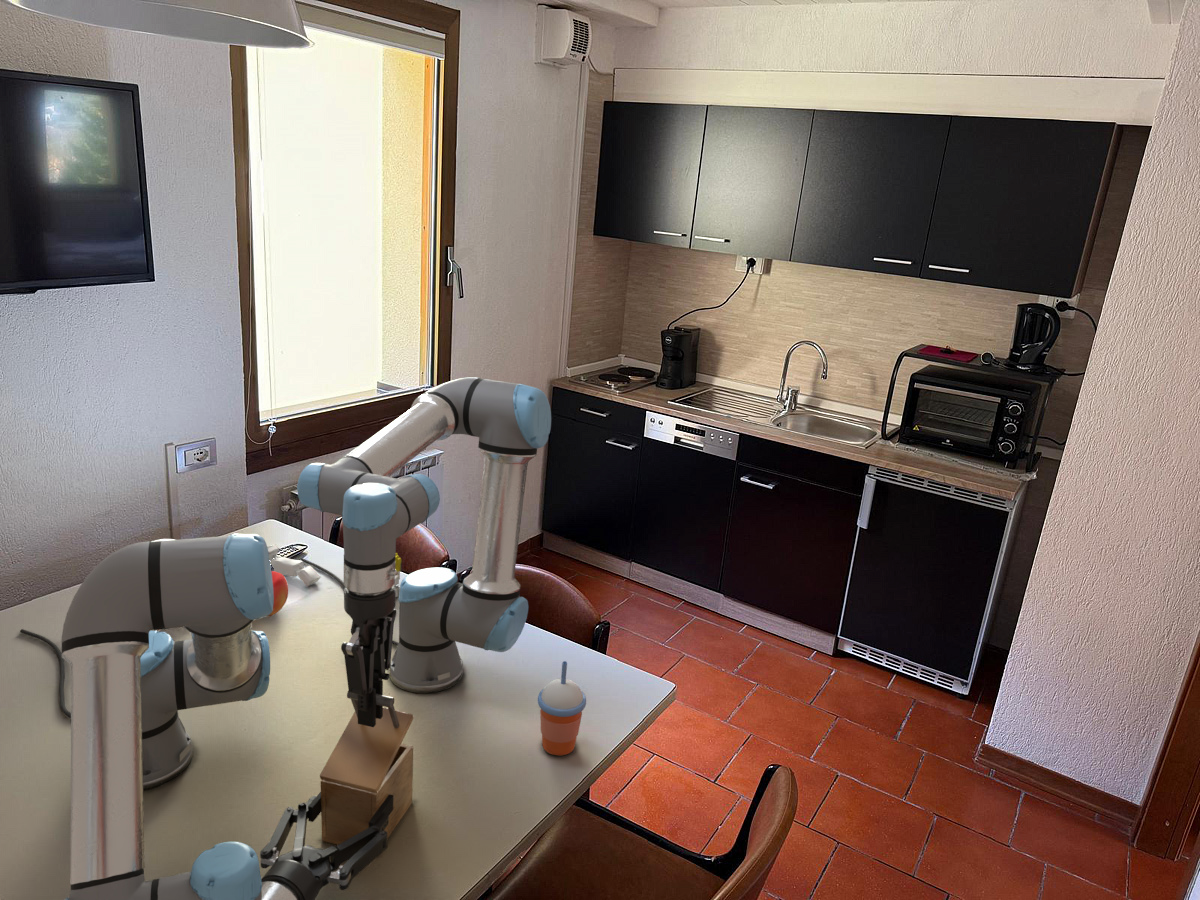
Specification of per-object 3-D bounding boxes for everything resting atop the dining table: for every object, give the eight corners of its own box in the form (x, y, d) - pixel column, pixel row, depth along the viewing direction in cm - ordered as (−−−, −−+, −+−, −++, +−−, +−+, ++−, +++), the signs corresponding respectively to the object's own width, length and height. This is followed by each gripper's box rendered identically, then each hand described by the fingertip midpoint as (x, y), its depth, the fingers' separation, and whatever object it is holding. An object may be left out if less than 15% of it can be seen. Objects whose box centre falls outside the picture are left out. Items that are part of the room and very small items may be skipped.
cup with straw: (576, 765, 157) (583, 680, 152) (528, 755, 159) (534, 670, 154) (587, 736, 166) (594, 654, 161) (541, 727, 167) (547, 646, 162)
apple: (273, 600, 207) (272, 562, 204) (297, 613, 202) (296, 575, 199) (237, 614, 200) (234, 575, 197) (261, 628, 194) (259, 588, 191)
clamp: (253, 565, 223) (254, 542, 221) (265, 560, 226) (266, 537, 224) (309, 593, 215) (310, 569, 213) (320, 588, 218) (321, 564, 216)
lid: (361, 706, 142) (350, 674, 137) (413, 718, 140) (405, 686, 135) (321, 779, 132) (307, 748, 127) (377, 793, 130) (366, 762, 125)
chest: (361, 789, 147) (361, 733, 144) (412, 802, 145) (413, 745, 142) (321, 840, 135) (320, 781, 132) (376, 855, 133) (376, 795, 130)
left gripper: (208, 902, 119) (300, 798, 140) (353, 945, 114) (425, 830, 135) (205, 859, 116) (299, 759, 137) (352, 900, 112) (426, 790, 133)
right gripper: (368, 612, 121) (369, 753, 128) (414, 570, 134) (412, 699, 141) (320, 602, 122) (324, 742, 129) (371, 562, 136) (371, 690, 143)
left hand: (361, 794), depth 136 cm, fingers closed on chest, 9 cm apart
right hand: (370, 719), depth 135 cm, fingers closed on lid, 2 cm apart
